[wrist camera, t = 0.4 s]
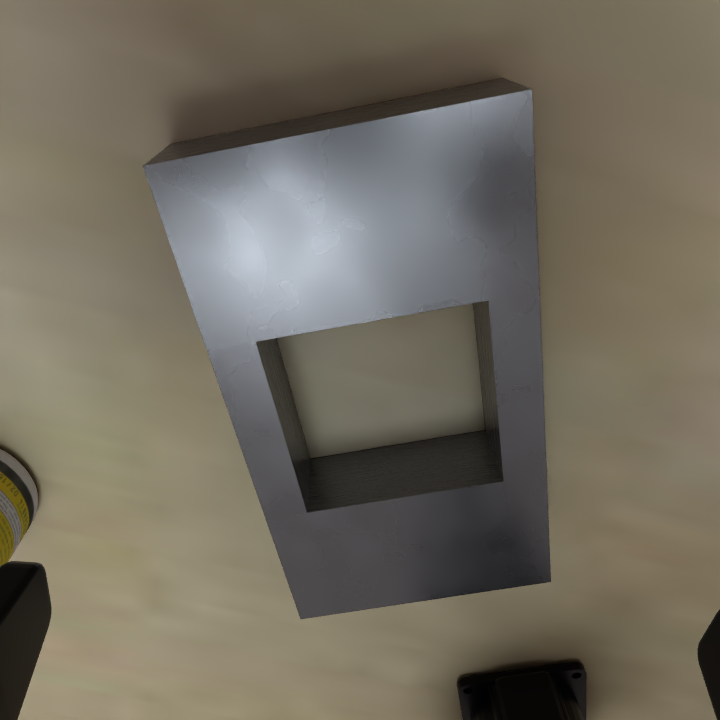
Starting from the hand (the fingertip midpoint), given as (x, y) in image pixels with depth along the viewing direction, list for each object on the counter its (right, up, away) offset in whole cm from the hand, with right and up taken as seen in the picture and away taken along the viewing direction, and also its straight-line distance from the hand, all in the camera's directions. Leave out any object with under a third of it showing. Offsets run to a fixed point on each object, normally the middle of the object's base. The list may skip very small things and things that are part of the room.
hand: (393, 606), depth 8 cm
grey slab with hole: (0, +3, +14) cm, 15 cm away
